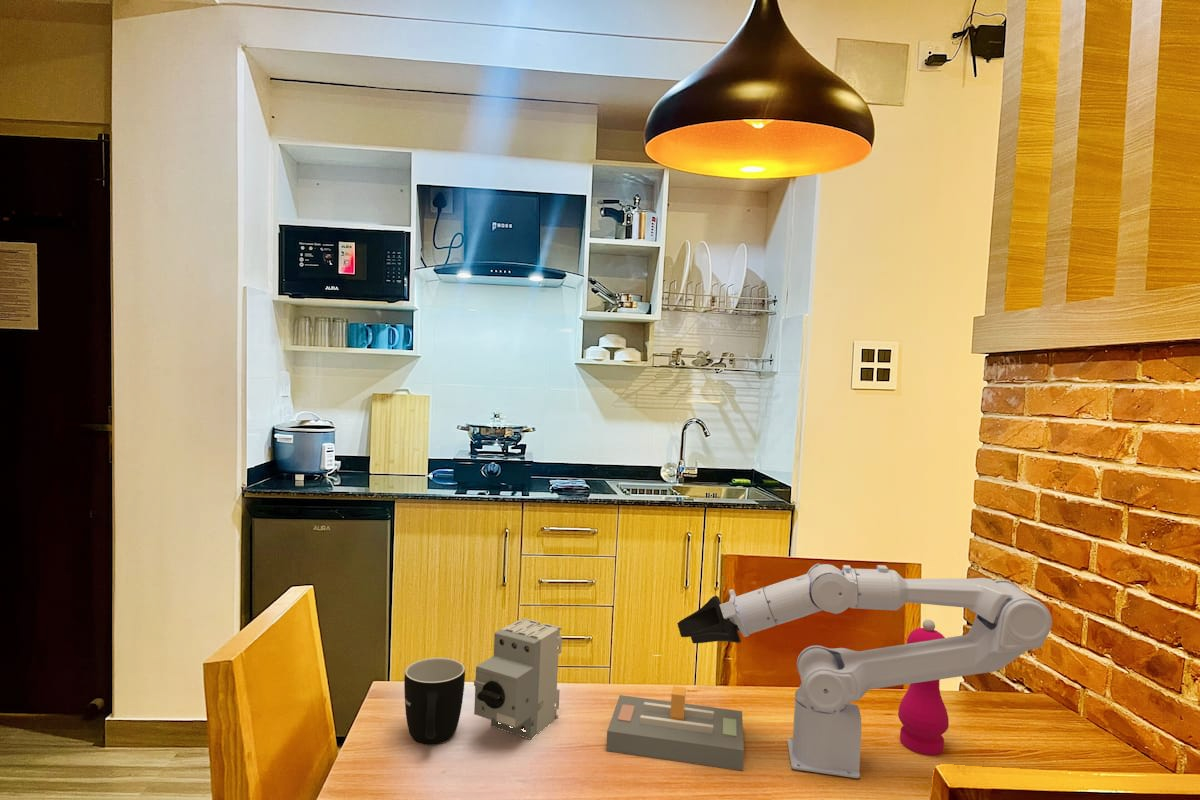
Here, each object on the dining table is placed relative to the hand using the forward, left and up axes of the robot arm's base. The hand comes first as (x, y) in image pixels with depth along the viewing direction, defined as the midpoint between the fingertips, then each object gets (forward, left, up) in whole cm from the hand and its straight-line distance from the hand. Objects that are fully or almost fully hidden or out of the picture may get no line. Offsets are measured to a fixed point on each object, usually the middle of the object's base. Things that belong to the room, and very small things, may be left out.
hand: (685, 633), depth 106 cm
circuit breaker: (+26, +4, -17) cm, 31 cm away
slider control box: (+1, 0, -17) cm, 17 cm away
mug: (+37, +10, -17) cm, 42 cm away
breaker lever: (+1, 0, -14) cm, 14 cm away
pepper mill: (-37, -9, -17) cm, 42 cm away
